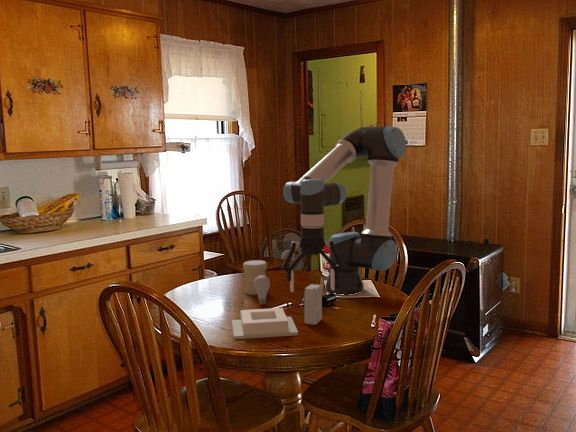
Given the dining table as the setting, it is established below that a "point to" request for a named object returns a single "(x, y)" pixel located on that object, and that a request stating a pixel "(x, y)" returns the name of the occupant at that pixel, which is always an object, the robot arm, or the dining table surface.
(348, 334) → the dining table surface
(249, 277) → the coffee cup
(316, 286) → the skincare box
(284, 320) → the holder
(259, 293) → the lightbulb
